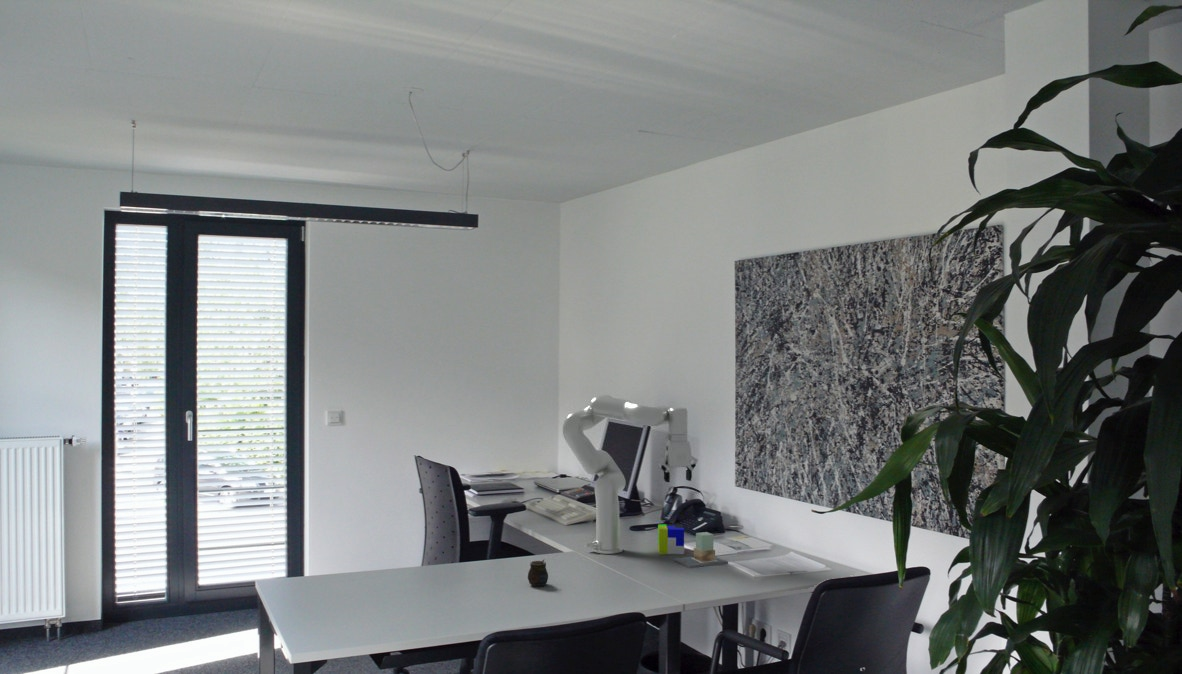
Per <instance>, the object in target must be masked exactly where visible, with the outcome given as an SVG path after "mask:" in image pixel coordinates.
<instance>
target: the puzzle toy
mask: <svg viewBox="0 0 1182 674" xmlns="http://www.w3.org/2000/svg"><path fill="white" fill-rule="evenodd" d="M657 550H658V553H659V555H684V554H685V528H684V526H683V524H670V523H668V524H667V523H665V524H663V523H662V524H657Z"/></svg>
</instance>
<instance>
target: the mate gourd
mask: <svg viewBox="0 0 1182 674" xmlns="http://www.w3.org/2000/svg"><path fill="white" fill-rule="evenodd" d="M545 560H546V559H545V558H544V559H543V560H533V561H530V565H529V566H530V568H529V570H528V572H527V580H528V583H529V585H530V586H532V587H535V588H538V587H539V588H541V587H543V586H546V584H547V583H548V580H549V573H548V570H547V562H546V561H545Z"/></svg>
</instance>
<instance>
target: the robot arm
mask: <svg viewBox="0 0 1182 674" xmlns="http://www.w3.org/2000/svg"><path fill="white" fill-rule="evenodd" d="M605 419H612V420H613V419H614V420H620V421H626V422H628V423H633V424H637V425H644V426H649V427H659V426H663V425H668V435H666V436H665V439H666V440H667V442H666V446H665V454H664V457H662V458H661V459H659V460H658V461H657V463H658V466H659V468H660V469H661V470H662V471H663V480H664V482H665V483H670V481H671V480H670V477H671V474H670V470H671V468H686V470H685V480H686V481H689V482H692V477H693V474H692V473H693V470H694V469H695V467H696V465H697V464H698V459H697V457H696V458H695V457H694V456H692V449H691V444H690V441H688V410H687V408H686V407H681V406H680V407H678V406H676V407H670V406H664V405H660V406H655V407H654V406H648V405H647V406H646V405H641V404H636V403H634V402H632V401H631V400H629V399H625V398H616V397H613V396H611V395H609V394H603V395H597V396H594V397H593V398H592V399H591V401H590V402H589V405H588V406H587V407H585V408H584V409H581V410H577V411H573V412H571V413H569V414H568V415H567V416H566V417H565V419H564V421H563V424H562V435H563V438H564V440H565V442H566V444H567V445H568V446H569V448H570V449H571V451H572V453H573V454H574V456H575V457H576V458H577V461H578V462H579V464H580V465H581V467H582V468H583V470H584V472H586V473H587V474H589V475H592V476H595V475H597V476H598V478H597V479H596V480H595V483H594V496H595V497H594V498H595V512H596V513H595V514H596V515H595V520H596V522H595V523H596V524H595V526H596V527H595V530H596V531H595V538H594V539H593V540H592V541H591V542H590V541H589V542H588V541H586V542H584V546H585V548H592V552H594V553H597V554H602V555H612V554H619V553H622V552H624V547H623V546H621V545H620V502H619V501H620V500H619V496H618V494H619V493H621V492H622V491H623V490H624V489H625V487H626V483H627V482H626V478H625V476H624V474H623V472H622V470H621V469H620V468H619V466H618V464H617V463H616V462H615V460H614V459H613V457H612V456H611V454H609V453H608V452H607V451H605V450H603V449H596V447H595V446H594V444H593V443H592V441H591V440H590V439H589V438H588V436H586V435H585V433H584V431H587V430H590V429H592V428H594V427H595V426H596V425H598V424H599V423H601V422H602V421H604V420H605ZM664 464H665V465H664Z"/></svg>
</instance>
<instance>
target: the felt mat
mask: <svg viewBox="0 0 1182 674" xmlns="http://www.w3.org/2000/svg"><path fill="white" fill-rule="evenodd" d="M674 561H675V562H677V563H679V564H680V565H683V566H685V567H687V568H689V569H690V568H691V569H692V568H699V567H700V568H702V567H709V566H710V567H711V566H718V565H719V566H720V565H728V564H729V561H728V560H726V559H723V558H721V557H719V556H716V555H715V561H706V562H701V561H699V560H696V559H694V556H687V557H685V556H684V557H679V558H678V557H677V558H674Z"/></svg>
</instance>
